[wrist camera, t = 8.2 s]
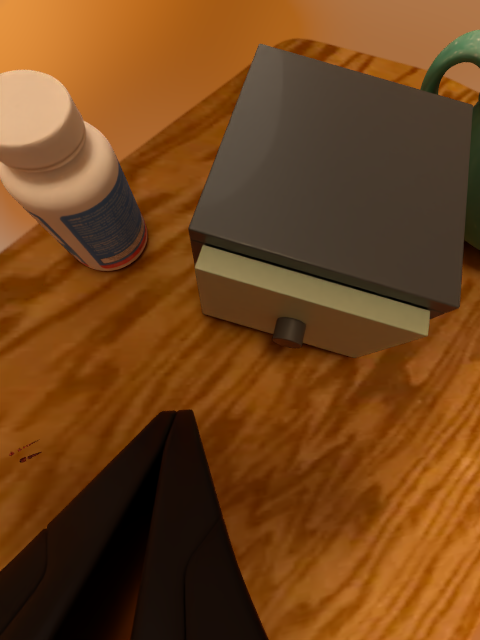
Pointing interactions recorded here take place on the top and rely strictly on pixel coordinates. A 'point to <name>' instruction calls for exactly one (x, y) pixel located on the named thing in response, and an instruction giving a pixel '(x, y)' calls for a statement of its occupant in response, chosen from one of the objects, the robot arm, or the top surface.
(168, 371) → the top surface
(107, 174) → the pill bottle
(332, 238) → the cabinet
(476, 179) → the mug
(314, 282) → the drawer
